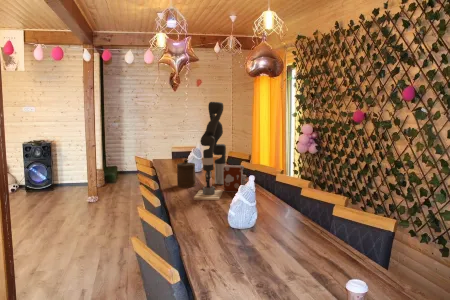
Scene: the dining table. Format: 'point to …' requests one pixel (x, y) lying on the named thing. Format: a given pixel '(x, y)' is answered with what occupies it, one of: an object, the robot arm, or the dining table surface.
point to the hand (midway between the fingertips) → (208, 186)
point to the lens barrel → (208, 190)
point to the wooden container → (186, 174)
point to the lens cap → (210, 183)
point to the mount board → (208, 197)
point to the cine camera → (233, 177)
